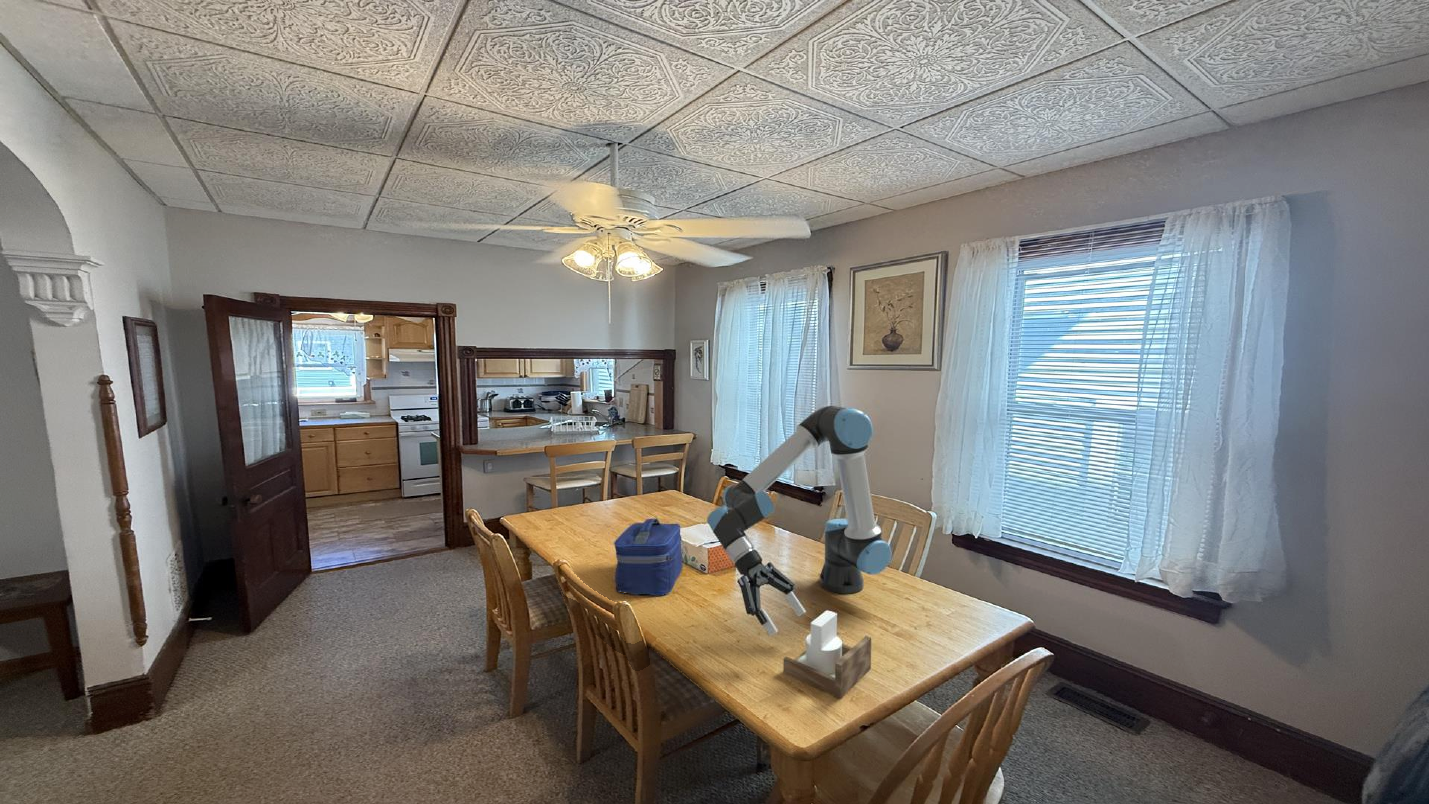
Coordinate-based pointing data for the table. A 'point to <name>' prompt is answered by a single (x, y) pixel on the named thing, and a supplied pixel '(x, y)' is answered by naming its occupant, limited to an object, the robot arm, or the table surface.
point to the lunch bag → (648, 558)
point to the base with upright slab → (823, 643)
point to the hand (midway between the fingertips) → (788, 623)
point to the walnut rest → (846, 669)
